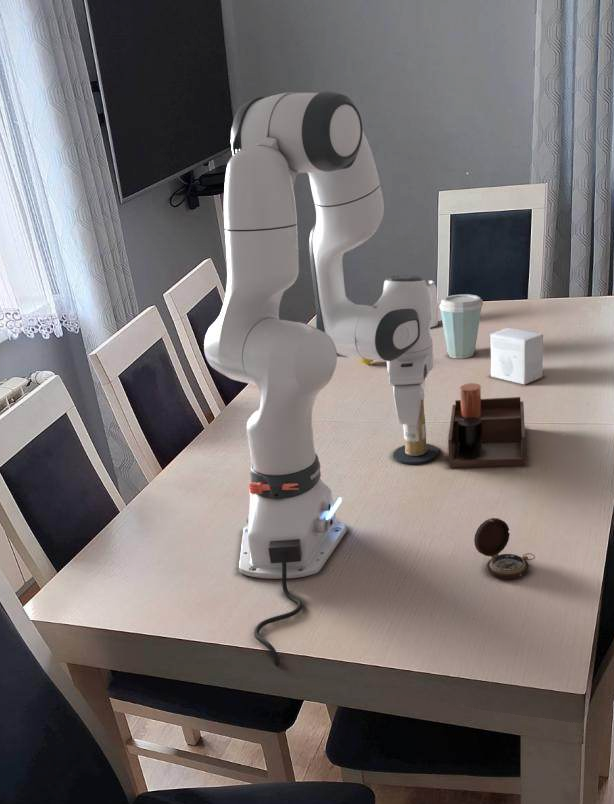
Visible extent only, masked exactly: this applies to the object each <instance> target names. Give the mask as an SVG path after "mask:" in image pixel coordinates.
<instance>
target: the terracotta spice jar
mask: <svg viewBox="0 0 614 804" xmlns="http://www.w3.org/2000/svg"><path fill="white" fill-rule="evenodd" d="M459 393H460V395H459V396H460V398H459V399H460V400H461V416H462V417H463V418H467V417H476V418H477V417H479V416H481V399H482V386H481V384H479V383H475V382H474V383H472V382H471V383H470V382H469V383H464V384H462V385H461V386H460V387H459Z"/></svg>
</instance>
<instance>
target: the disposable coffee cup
mask: <svg viewBox="0 0 614 804" xmlns="http://www.w3.org/2000/svg"><path fill="white" fill-rule="evenodd" d="M483 305H484V301H483V299H482V297H480V296H478V295H476V294H469V293H465V294H462V293H461V294H452V295H448V296H444V297H442V298H441V301H440V303H439V305H438V306H439V307H438V309H440V315H441V321H442V327H443V334H444V340H445V346H446V351H447V352H446V353H447V354H448V356H449V357H450V358H452V359H460V360H461V359H468V358H471V357H472V356H473V355H474V354H475V352H476V346H477V339H478V334H479V333H478V332H479V326H480V320H481V313H482V307H483Z"/></svg>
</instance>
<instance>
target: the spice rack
mask: <svg viewBox="0 0 614 804" xmlns="http://www.w3.org/2000/svg"><path fill="white" fill-rule="evenodd" d="M454 403H455V404H452V407H451V415H450V424H449V429H448V431H449V432H448V438H447V442H448V443H447V444H448V465H449V469H461V468H462V469H463V468H465V469H467V468H495V467H526V428H525V427H526V425H525V407H524V406H525V405H524V404H525V403H524V401H521V396H510V397H493V398H492V397H491V398H481V416H479V417H477V418H479V419H481V429H482V443H499V442H501V443H502V442H503V443H504V442H520V455H521V456H517V457H515V456H514V457H513V456H512V457H487V458H486V457H485V458H472V459H467V458H458V459H457V458H455V450H456V444H459V434H458V421H459V420H460V419H463V417H462V416H461V399H455V402H454ZM454 458H455V459H454Z"/></svg>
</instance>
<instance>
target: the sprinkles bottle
mask: <svg viewBox="0 0 614 804" xmlns="http://www.w3.org/2000/svg"><path fill="white" fill-rule="evenodd" d="M421 402H422V403H421V409H420V414H419V419H418V422H417V427H418V430H417V433H416V434H409V433H408V427H407V424H402V427H403V438H404V439H403V440H404V446H405V453H406V454H407V455H410V456H420V455H423V454H425V453H426V452H427V446H426V444H427V430H426V429H427V427H426V415H425V406H424V405H425V403H424V402H425V389H423V388H421Z"/></svg>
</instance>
